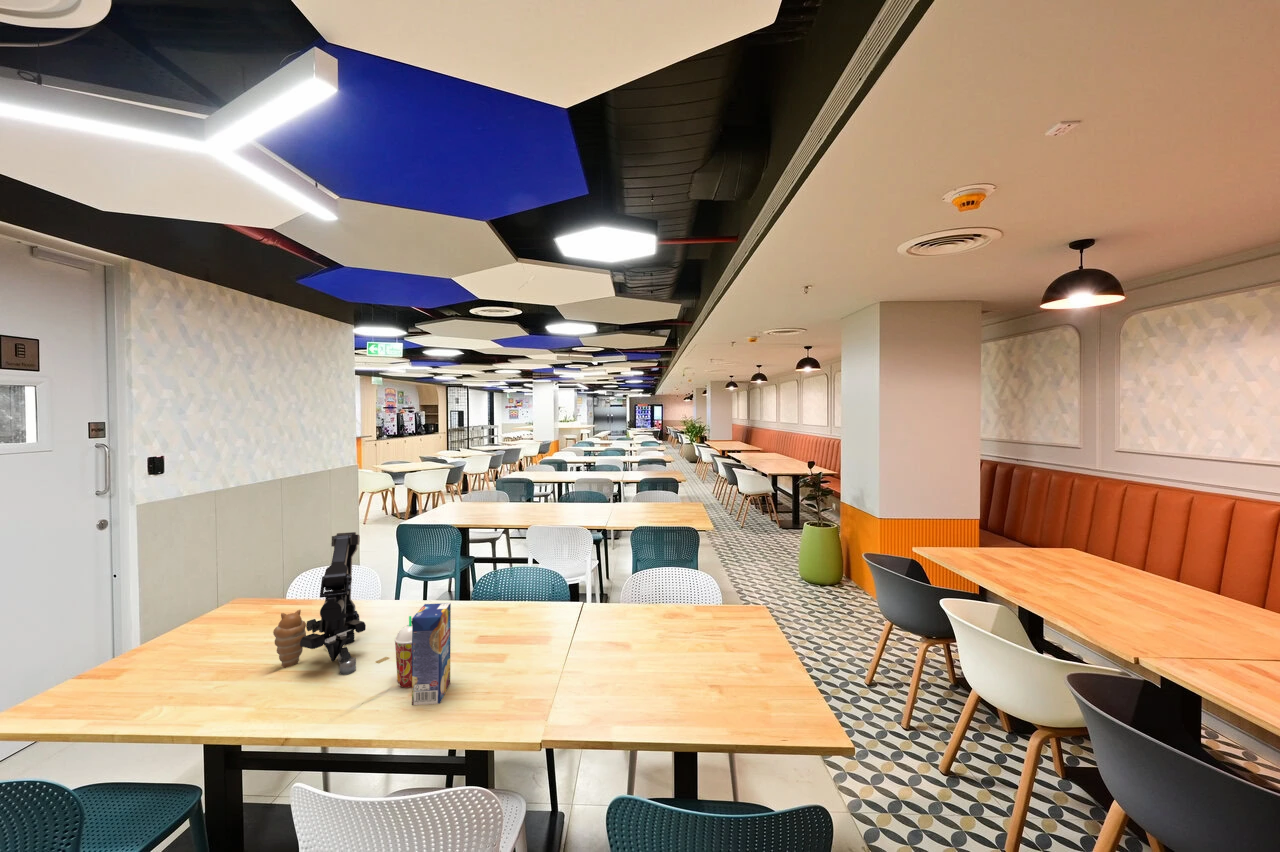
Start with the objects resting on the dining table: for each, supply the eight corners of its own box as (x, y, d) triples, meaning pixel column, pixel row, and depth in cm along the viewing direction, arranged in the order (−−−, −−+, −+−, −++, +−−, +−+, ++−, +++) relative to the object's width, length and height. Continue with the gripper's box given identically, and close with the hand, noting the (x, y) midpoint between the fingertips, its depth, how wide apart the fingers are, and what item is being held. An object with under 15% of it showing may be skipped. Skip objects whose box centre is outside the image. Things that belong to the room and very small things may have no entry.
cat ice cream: (303, 660, 172) (303, 605, 173) (309, 667, 167) (309, 611, 167) (271, 668, 166) (271, 611, 166) (276, 676, 160) (276, 618, 161)
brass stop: (375, 664, 167) (375, 661, 167) (386, 659, 171) (386, 656, 171) (378, 665, 166) (378, 662, 166) (389, 660, 170) (389, 657, 170)
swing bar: (357, 672, 160) (357, 661, 160) (340, 676, 158) (340, 664, 158) (349, 656, 172) (349, 646, 172) (334, 660, 169) (334, 649, 169)
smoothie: (400, 677, 160) (401, 612, 160) (428, 676, 161) (428, 611, 161) (389, 690, 152) (390, 621, 152) (419, 689, 152) (419, 620, 153)
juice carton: (439, 703, 144) (440, 616, 145) (411, 705, 144) (412, 618, 144) (450, 683, 156) (450, 602, 157) (424, 684, 156) (424, 603, 156)
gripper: (344, 600, 178) (342, 646, 177) (289, 616, 160) (286, 667, 160) (367, 604, 173) (365, 652, 173) (314, 621, 156) (311, 674, 155)
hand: (333, 661), depth 165 cm, fingers closed
